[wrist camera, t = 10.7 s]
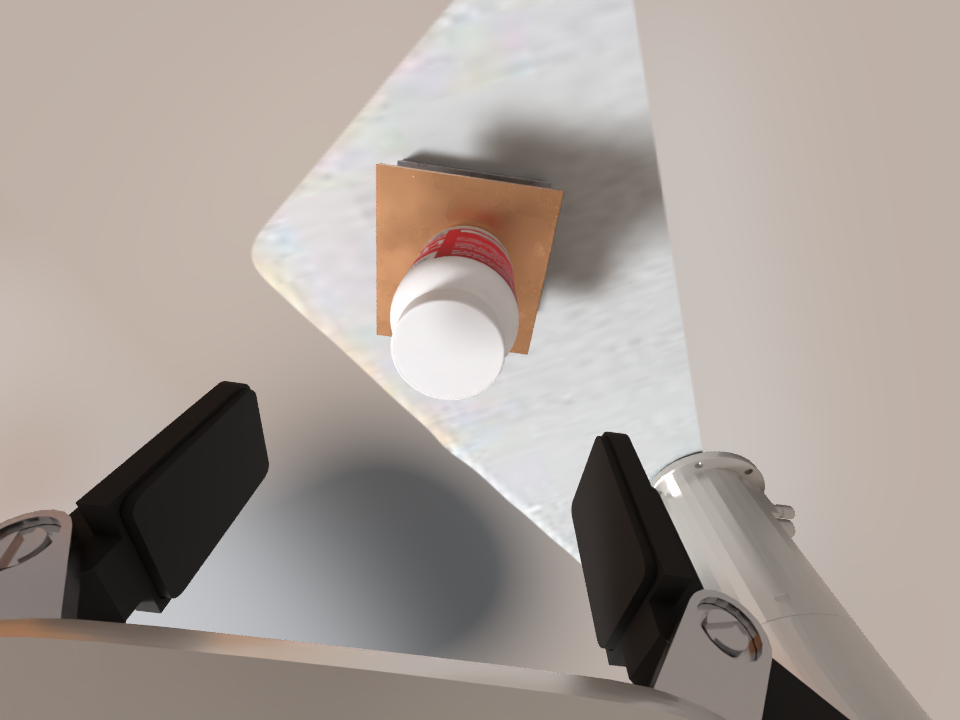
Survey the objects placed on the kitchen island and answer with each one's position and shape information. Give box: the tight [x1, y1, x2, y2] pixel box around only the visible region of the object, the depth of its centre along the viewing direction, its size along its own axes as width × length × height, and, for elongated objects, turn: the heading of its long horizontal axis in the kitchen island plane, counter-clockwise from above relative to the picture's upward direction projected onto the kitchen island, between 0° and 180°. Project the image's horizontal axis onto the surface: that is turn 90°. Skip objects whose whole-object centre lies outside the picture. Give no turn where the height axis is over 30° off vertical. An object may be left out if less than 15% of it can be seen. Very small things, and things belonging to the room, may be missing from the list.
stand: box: [376, 160, 564, 354], centre depth 28 cm, size 11×11×7 cm
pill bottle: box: [390, 226, 519, 400], centre depth 20 cm, size 6×6×11 cm
